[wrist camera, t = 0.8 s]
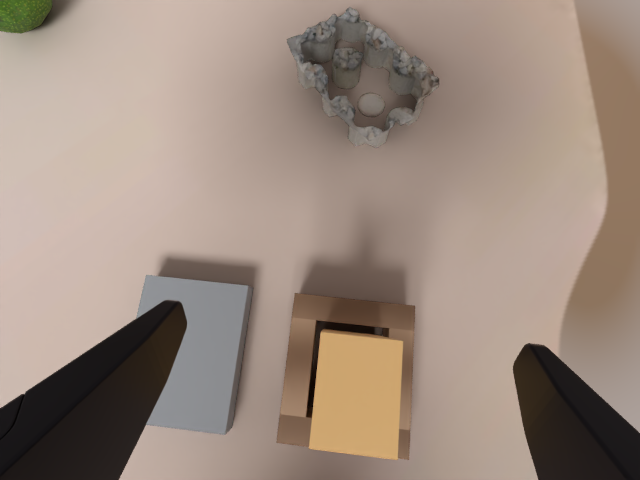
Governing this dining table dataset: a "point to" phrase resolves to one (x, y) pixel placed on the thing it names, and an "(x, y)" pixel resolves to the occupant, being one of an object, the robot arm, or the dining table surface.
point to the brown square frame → (301, 353)
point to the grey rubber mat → (202, 352)
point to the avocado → (23, 14)
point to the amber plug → (357, 394)
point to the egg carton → (346, 71)
